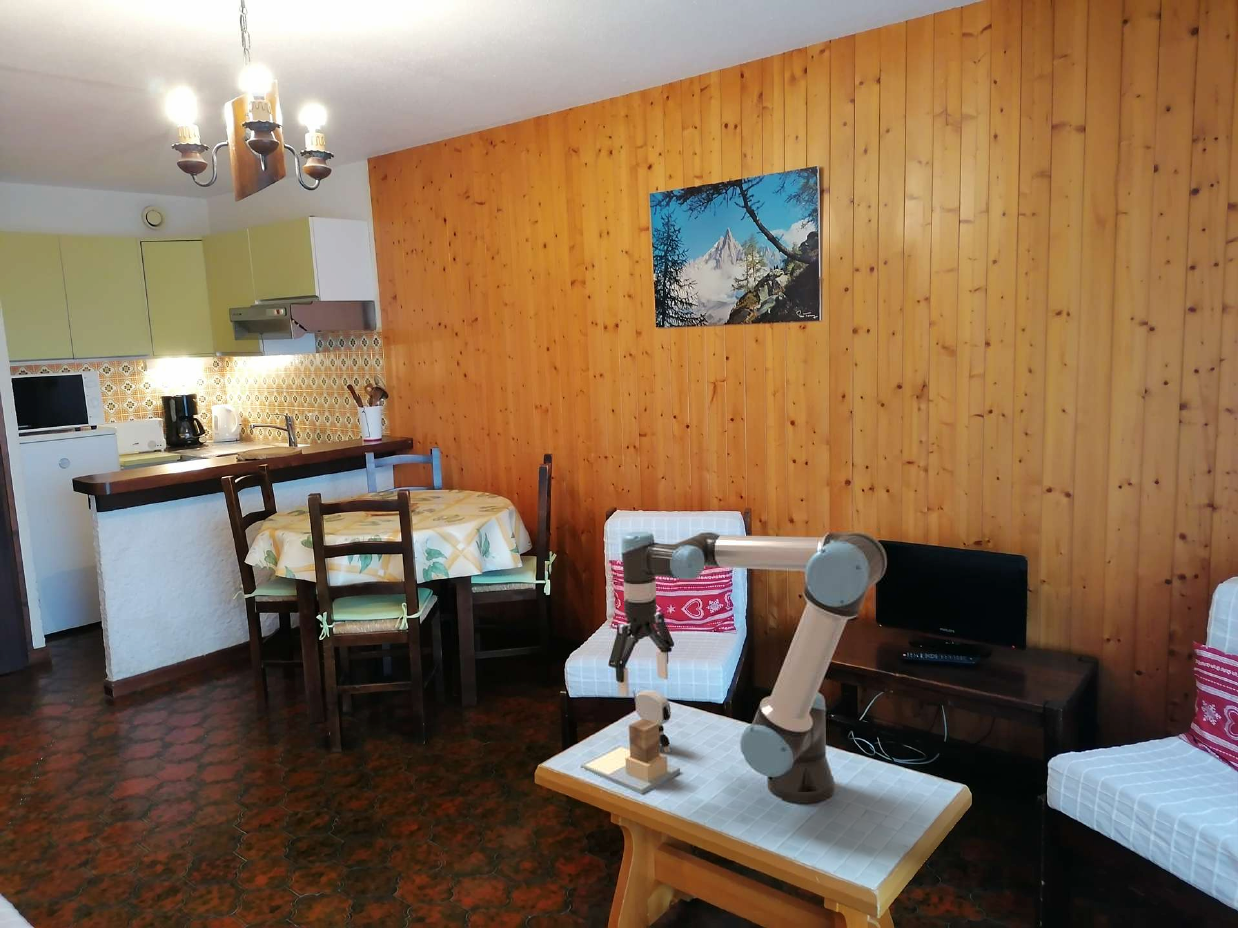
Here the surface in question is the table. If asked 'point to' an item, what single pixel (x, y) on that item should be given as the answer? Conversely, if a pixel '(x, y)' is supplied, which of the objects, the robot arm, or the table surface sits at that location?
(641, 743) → the walnut block
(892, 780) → the table surface
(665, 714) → the robot toy
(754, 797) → the table surface
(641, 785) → the board
